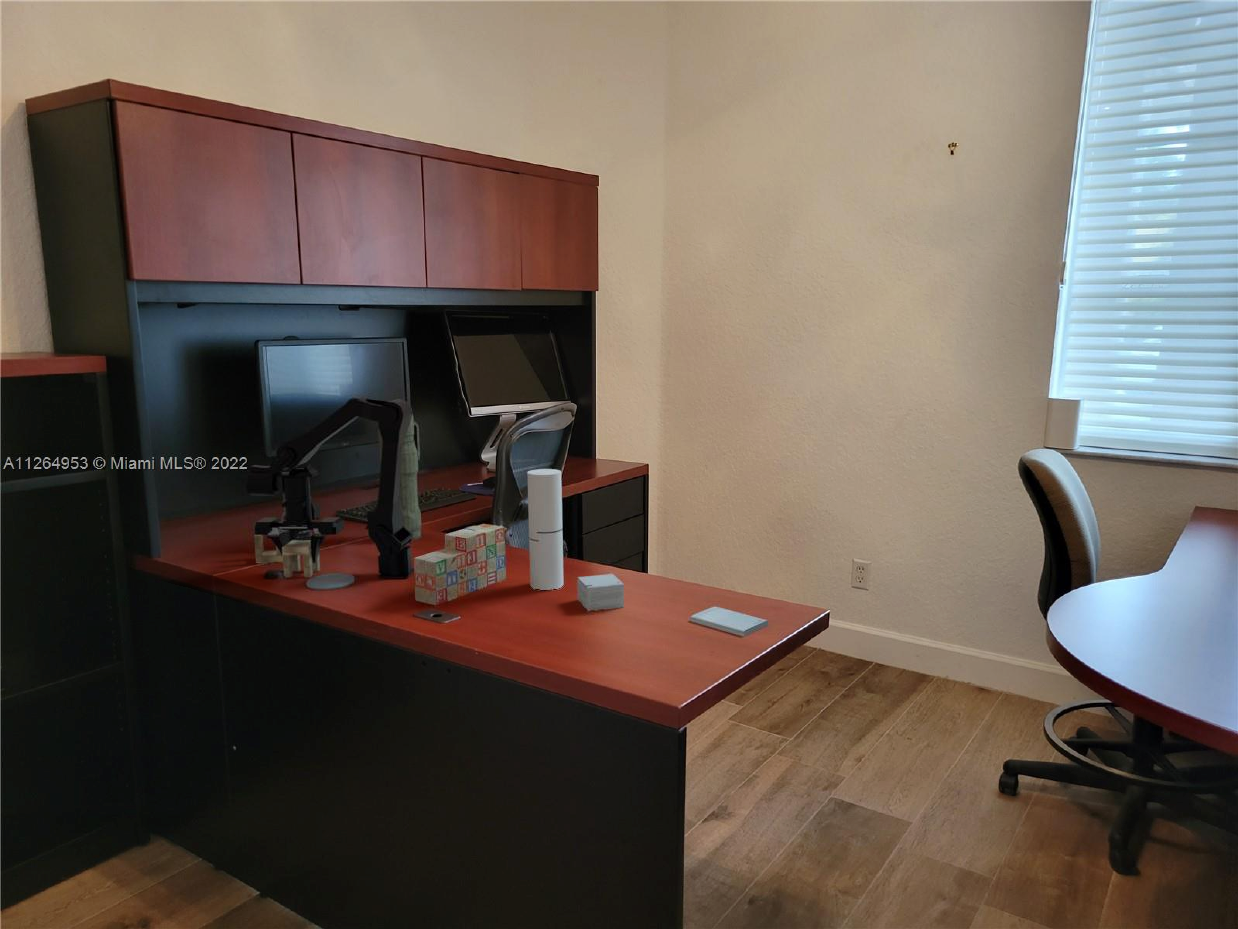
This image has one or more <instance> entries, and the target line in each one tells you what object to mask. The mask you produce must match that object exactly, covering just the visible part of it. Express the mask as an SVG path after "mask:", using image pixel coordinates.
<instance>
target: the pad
mask: <svg viewBox="0 0 1238 929" xmlns="http://www.w3.org/2000/svg"><path fill="white" fill-rule="evenodd" d="M354 582H355V576H353V575H352V574H349V573H339V572H338V573H325V574H320V575H317V576H314V577H313V576H312V577H310V578H309V579H307V581H306V586H307V588H309V589H311V590H312V589H313V590H319V591H321V590H323V591H325V590H326V591H328V590H335V589H341V588H345V587H348V586H350V585H353V584H354Z"/></svg>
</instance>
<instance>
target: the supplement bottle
mask: <svg viewBox="0 0 1238 929" xmlns="http://www.w3.org/2000/svg"><path fill="white" fill-rule="evenodd" d="M283 520H285V512H283V513H282V515H281V522H283ZM292 526H293V525H292ZM294 526H295V525H294ZM302 526H303V525H302ZM304 526H305V525H304ZM306 526H307V525H306ZM310 536H312V530H289V536H288V542H291V541H292V540H310Z"/></svg>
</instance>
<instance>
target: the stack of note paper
mask: <svg viewBox="0 0 1238 929" xmlns="http://www.w3.org/2000/svg"><path fill="white" fill-rule="evenodd" d="M624 587H625V584H624V583H623V582H622V581H621V580H620V579H619V578H618V577H617V576H616V575H615V574H613V573H607V574H606V573H605V574H598V575H588V576H587V575H586V576H578V577H577V600H578V602H579V603H580V602H581V603H582V604H581V603H580V604H581V605H582V606H583V607H584V608H586V609H587V610H588V611H587V610H586V609H585V610H586V611H587V612H591V611H590V610H595V611H599V610H598V609H604V610H612V609H619V608H621V607H622V608H625V588H624Z"/></svg>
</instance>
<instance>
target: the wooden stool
mask: <svg viewBox="0 0 1238 929" xmlns="http://www.w3.org/2000/svg"><path fill="white" fill-rule="evenodd" d="M282 555H283V563H282V566H283V568H282V569H283V577H284V576H285V577H284V578H291V577H293V575H294V574H293V572H300V571H301V570H300V569H301V556H302V562H303V563H302V564H303V575H304V576H303V577H304V578H313V576H312V575H313V574H314V572H319V571H321V563H320V554H319V555H318V558H317V562H316V563H313V560H312V553H311V540H292V541H291V542H289V543H288V544H286V545H285V546H283V547H282Z"/></svg>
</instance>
